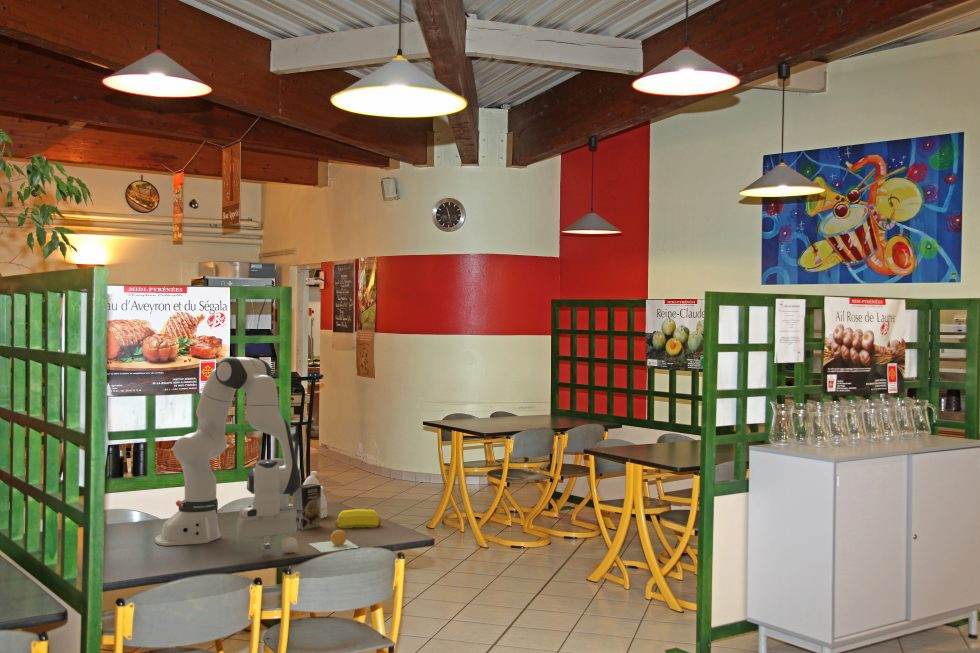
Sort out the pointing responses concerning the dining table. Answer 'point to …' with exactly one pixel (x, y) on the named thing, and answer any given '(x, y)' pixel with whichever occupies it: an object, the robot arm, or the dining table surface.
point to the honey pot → (313, 480)
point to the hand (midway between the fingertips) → (266, 549)
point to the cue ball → (289, 544)
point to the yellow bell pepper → (358, 518)
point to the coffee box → (307, 506)
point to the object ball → (338, 537)
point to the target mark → (332, 546)
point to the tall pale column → (283, 497)
